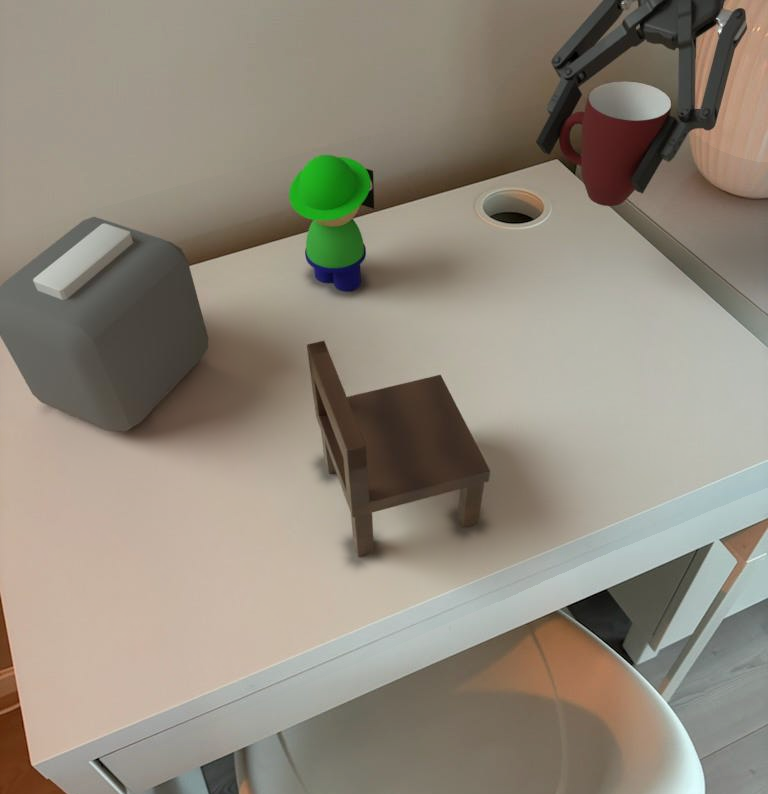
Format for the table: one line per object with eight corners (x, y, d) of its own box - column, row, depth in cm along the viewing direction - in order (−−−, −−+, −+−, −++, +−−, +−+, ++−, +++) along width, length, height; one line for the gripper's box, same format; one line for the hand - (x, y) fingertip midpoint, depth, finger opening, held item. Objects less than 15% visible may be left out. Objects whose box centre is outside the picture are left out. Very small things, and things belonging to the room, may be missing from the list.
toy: (386, 270, 91) (385, 149, 79) (348, 311, 86) (340, 189, 74) (325, 248, 94) (314, 128, 81) (285, 287, 89) (267, 166, 77)
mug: (535, 198, 81) (550, 103, 73) (563, 163, 85) (580, 69, 77) (630, 225, 77) (657, 128, 69) (655, 187, 82) (683, 91, 73)
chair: (437, 432, 75) (444, 313, 63) (481, 525, 69) (499, 412, 56) (321, 461, 73) (306, 344, 61) (356, 560, 67) (346, 450, 54)
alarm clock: (142, 321, 86) (98, 195, 73) (224, 351, 83) (192, 224, 70) (43, 414, 78) (-26, 290, 65) (129, 451, 74) (74, 328, 62)
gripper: (833, -5, 69) (695, 222, 75) (617, -61, 79) (509, 144, 85) (836, -58, 63) (685, 195, 69) (600, -112, 72) (484, 114, 78)
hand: (588, 167), depth 77 cm, fingers closed on mug, 11 cm apart
